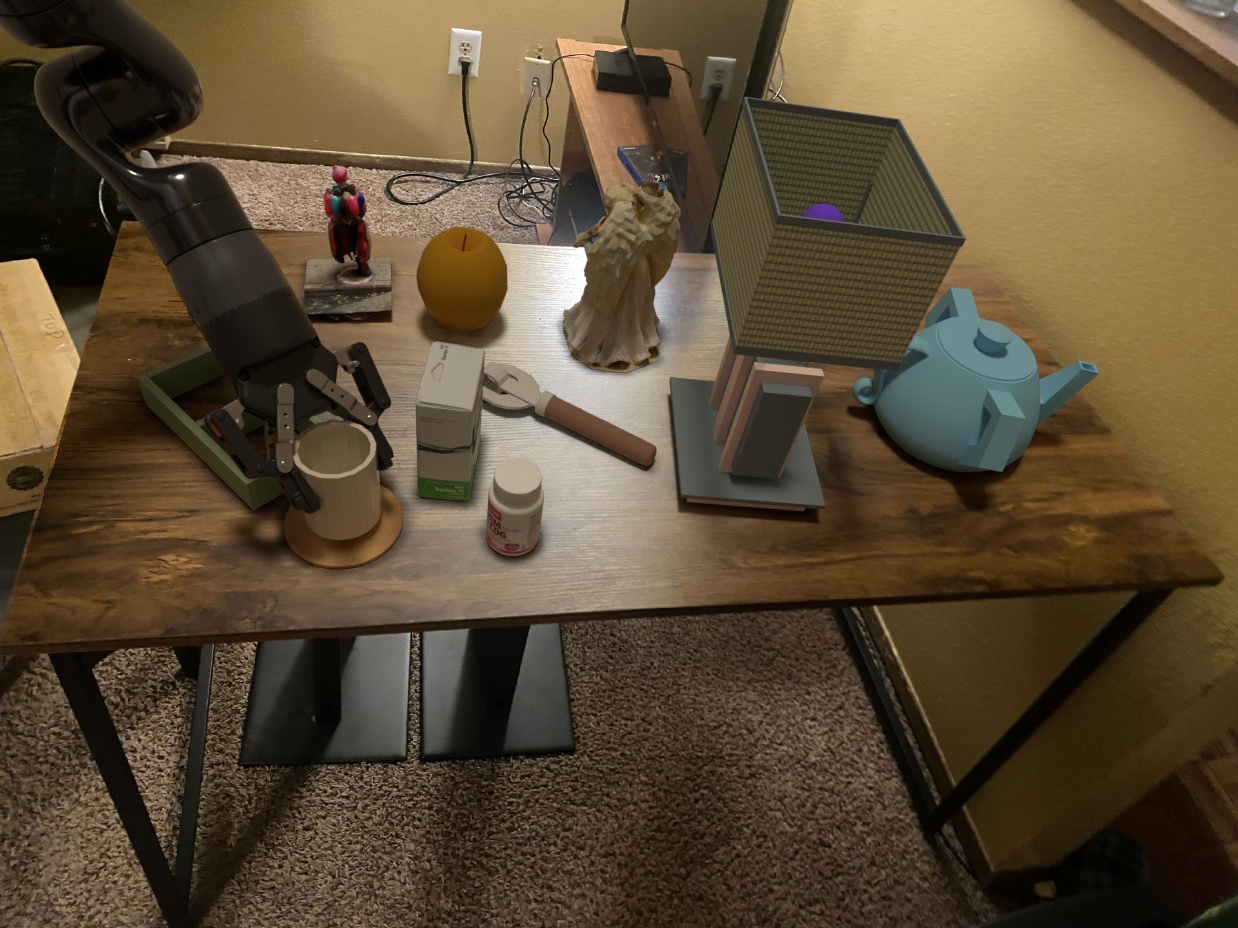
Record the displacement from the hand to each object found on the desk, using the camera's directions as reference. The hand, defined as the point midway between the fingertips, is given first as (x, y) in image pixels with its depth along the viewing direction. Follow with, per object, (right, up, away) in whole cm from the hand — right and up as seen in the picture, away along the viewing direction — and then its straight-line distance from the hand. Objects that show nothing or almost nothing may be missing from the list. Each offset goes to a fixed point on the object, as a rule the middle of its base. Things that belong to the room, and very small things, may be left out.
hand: (351, 488), depth 69 cm
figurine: (+21, +16, +28) cm, 39 cm away
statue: (-9, +22, +27) cm, 35 cm away
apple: (+4, +18, +26) cm, 32 cm away
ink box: (+6, +2, +11) cm, 13 cm away
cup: (-2, -2, +4) cm, 5 cm away
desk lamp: (+34, +3, +18) cm, 39 cm away
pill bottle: (+12, -5, +7) cm, 15 cm away
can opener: (+16, +7, +18) cm, 25 cm away
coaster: (-2, -3, +5) cm, 6 cm away
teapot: (+59, +6, +27) cm, 65 cm away
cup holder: (-13, +5, +10) cm, 18 cm away
